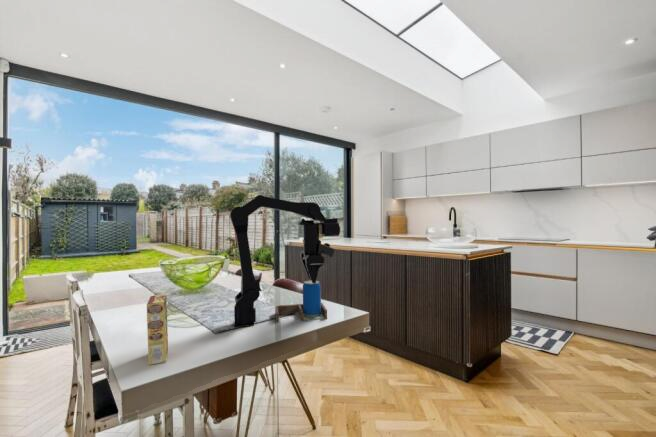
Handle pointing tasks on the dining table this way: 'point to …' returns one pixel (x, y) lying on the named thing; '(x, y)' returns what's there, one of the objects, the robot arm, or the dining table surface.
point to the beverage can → (311, 298)
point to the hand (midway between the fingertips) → (312, 280)
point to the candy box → (157, 329)
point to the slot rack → (298, 311)
